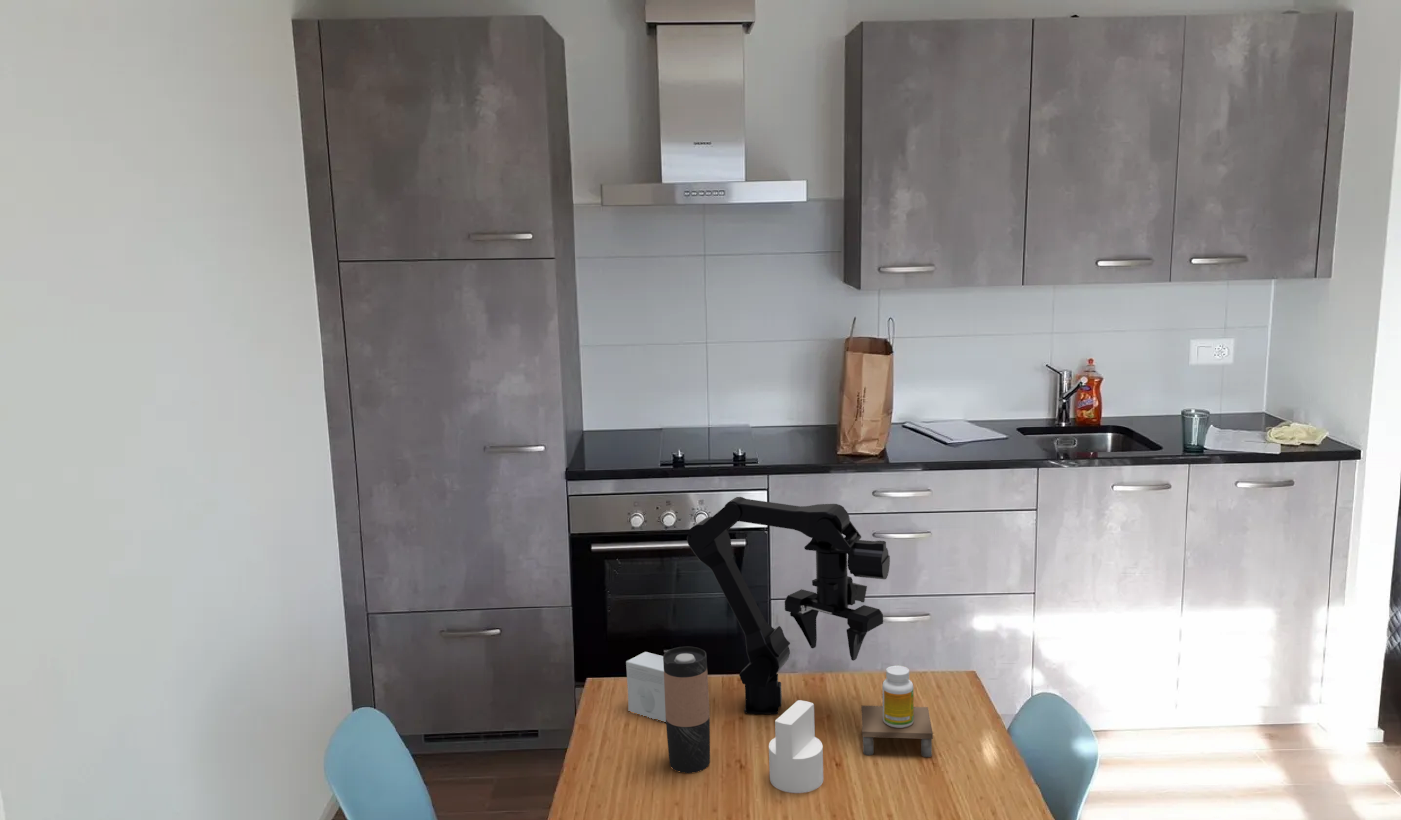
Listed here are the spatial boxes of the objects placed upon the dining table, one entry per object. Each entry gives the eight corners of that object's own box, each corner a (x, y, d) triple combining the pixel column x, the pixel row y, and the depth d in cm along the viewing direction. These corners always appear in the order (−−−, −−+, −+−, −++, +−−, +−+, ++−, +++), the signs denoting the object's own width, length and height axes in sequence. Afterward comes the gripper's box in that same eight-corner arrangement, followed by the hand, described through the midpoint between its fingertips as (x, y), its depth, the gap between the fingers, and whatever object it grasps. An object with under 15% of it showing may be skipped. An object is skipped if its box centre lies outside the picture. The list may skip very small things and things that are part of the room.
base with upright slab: (809, 798, 164) (807, 729, 162) (760, 784, 169) (758, 717, 167) (832, 772, 171) (830, 706, 169) (784, 760, 176) (783, 695, 174)
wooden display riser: (862, 755, 177) (862, 731, 176) (861, 728, 186) (861, 705, 186) (932, 757, 175) (932, 733, 174) (928, 730, 185) (928, 707, 184)
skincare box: (690, 711, 196) (687, 660, 194) (670, 725, 191) (667, 672, 189) (647, 699, 202) (645, 649, 200) (627, 712, 197) (624, 661, 195)
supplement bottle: (917, 727, 177) (917, 675, 175) (887, 729, 176) (886, 677, 175) (908, 713, 182) (908, 662, 180) (879, 715, 181) (878, 664, 180)
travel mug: (717, 754, 179) (712, 648, 176) (703, 776, 172) (698, 666, 168) (676, 749, 181) (671, 644, 178) (661, 770, 174) (655, 661, 171)
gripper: (899, 571, 185) (899, 652, 188) (817, 553, 198) (818, 629, 201) (864, 588, 177) (866, 672, 180) (781, 568, 190) (783, 646, 193)
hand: (833, 653), depth 188 cm, fingers open, 9 cm apart
